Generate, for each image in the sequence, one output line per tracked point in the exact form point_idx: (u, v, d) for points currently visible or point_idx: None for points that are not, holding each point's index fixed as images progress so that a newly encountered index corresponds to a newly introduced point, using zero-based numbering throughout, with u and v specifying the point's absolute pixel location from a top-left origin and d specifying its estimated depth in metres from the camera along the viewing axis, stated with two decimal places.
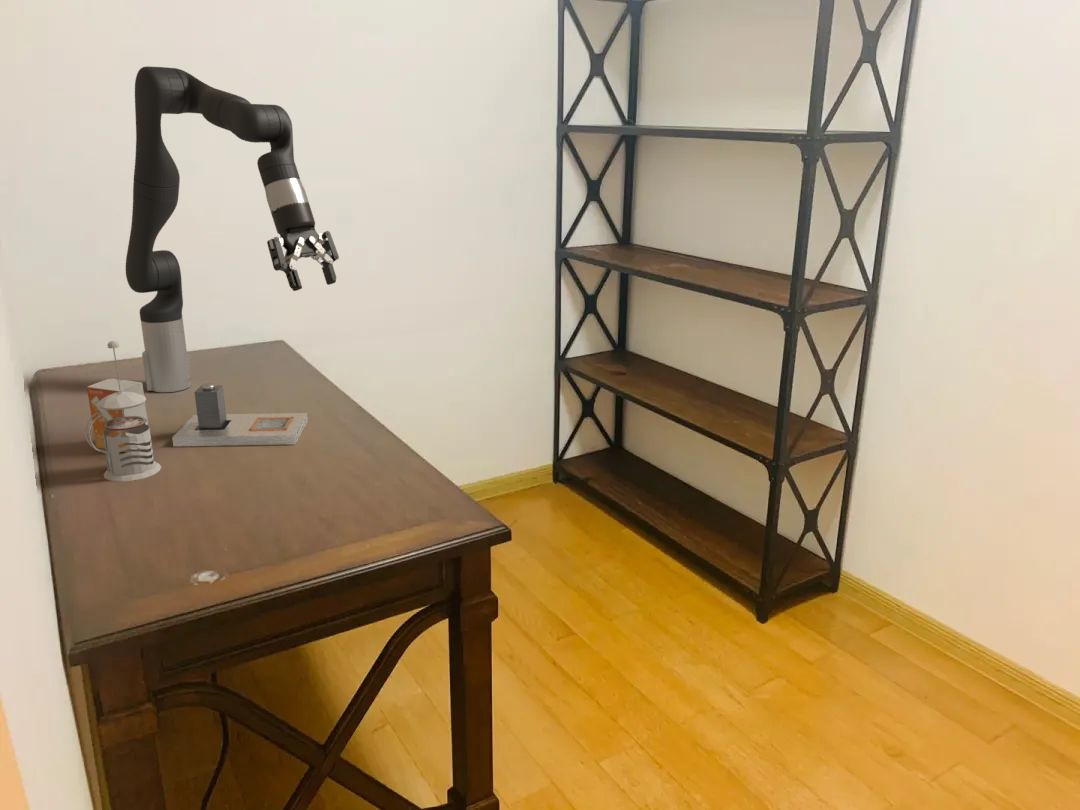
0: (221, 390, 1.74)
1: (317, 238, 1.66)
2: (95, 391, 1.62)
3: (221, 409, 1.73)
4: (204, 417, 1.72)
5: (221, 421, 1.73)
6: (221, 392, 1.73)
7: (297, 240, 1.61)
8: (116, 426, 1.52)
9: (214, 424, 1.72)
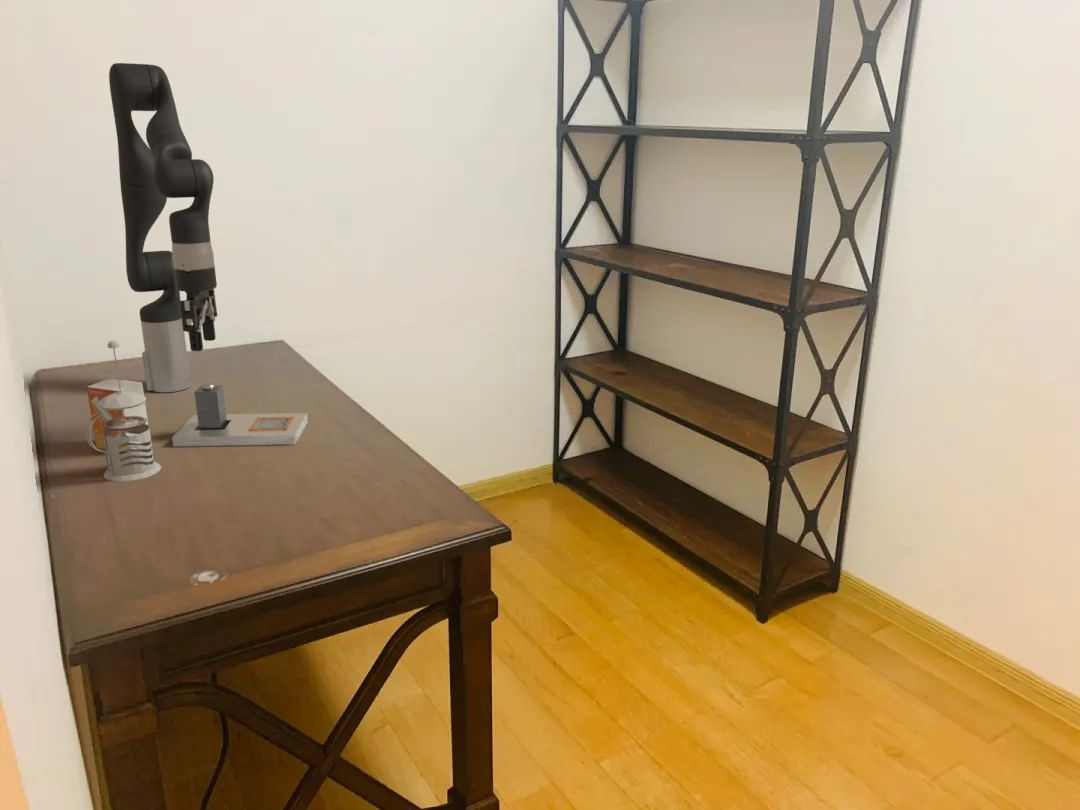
0: (221, 390, 1.74)
1: None
2: (95, 391, 1.62)
3: (221, 409, 1.73)
4: (204, 417, 1.72)
5: (221, 421, 1.73)
6: (221, 392, 1.73)
7: (204, 303, 1.65)
8: (116, 426, 1.52)
9: (214, 424, 1.72)
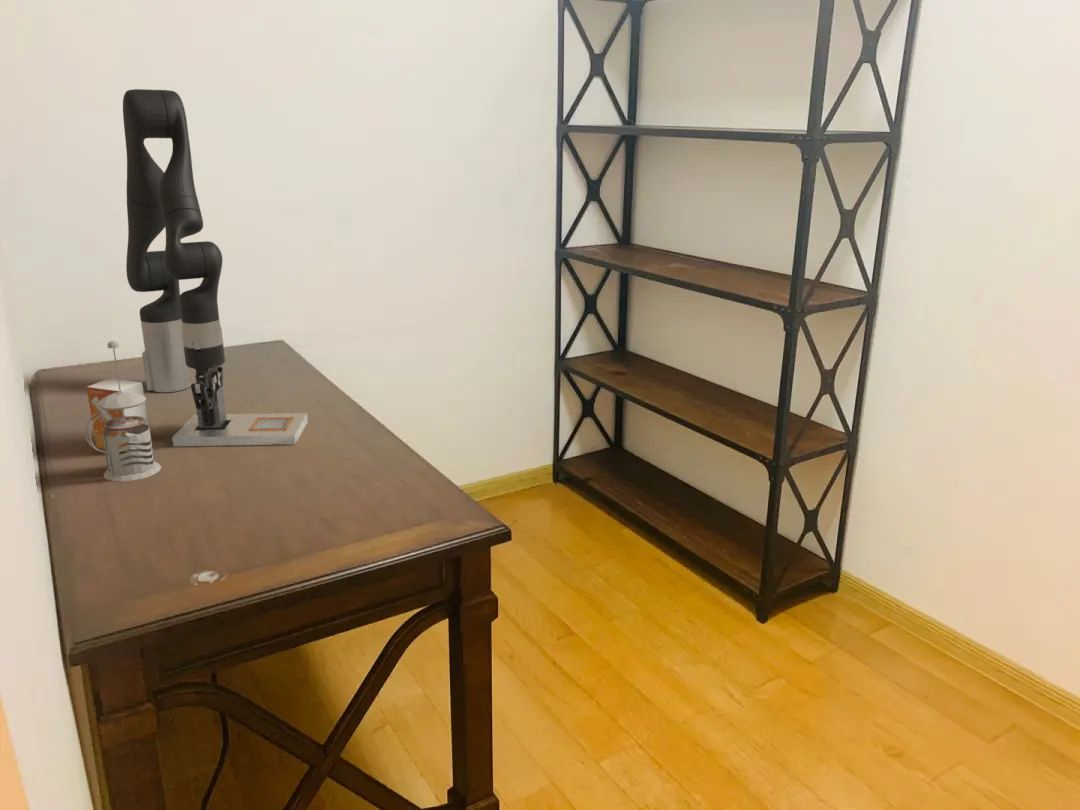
0: (221, 390, 1.74)
1: (217, 371, 1.74)
2: (95, 391, 1.62)
3: (221, 408, 1.73)
4: None
5: (220, 421, 1.73)
6: (221, 392, 1.73)
7: (213, 379, 1.69)
8: (116, 426, 1.52)
9: None
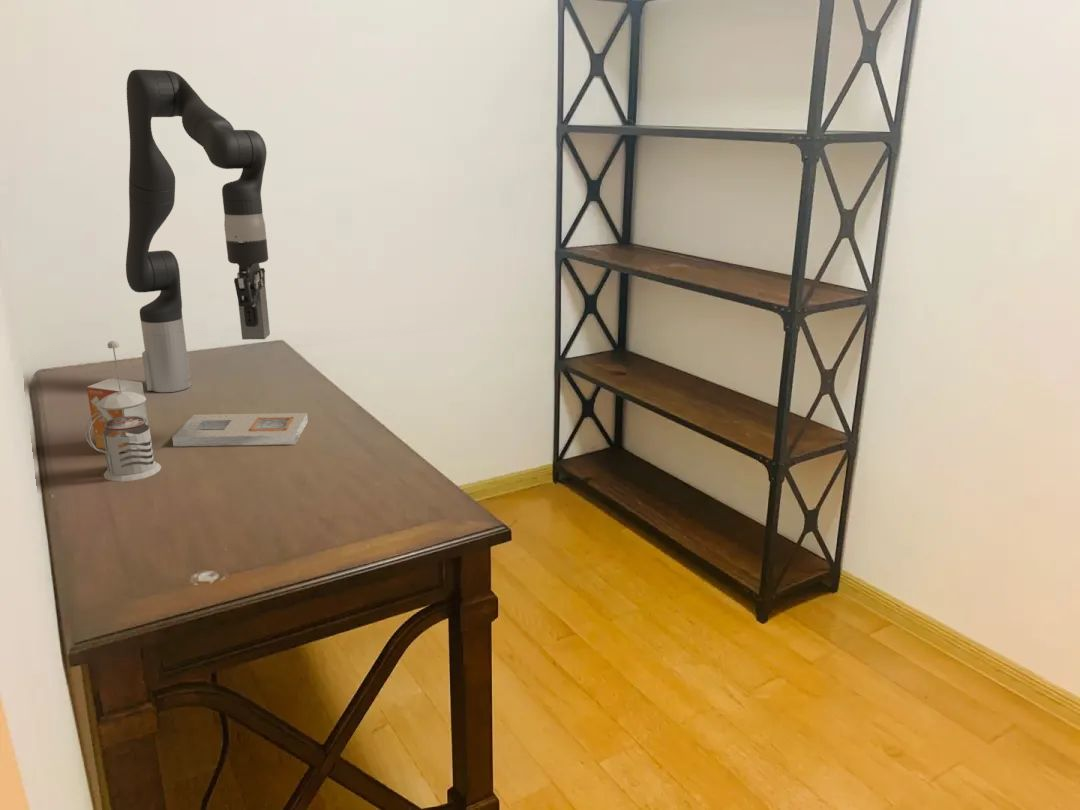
0: (264, 290, 1.67)
1: None
2: (95, 391, 1.62)
3: (264, 309, 1.67)
4: None
5: (263, 321, 1.67)
6: (264, 292, 1.67)
7: (256, 276, 1.63)
8: (116, 426, 1.52)
9: None
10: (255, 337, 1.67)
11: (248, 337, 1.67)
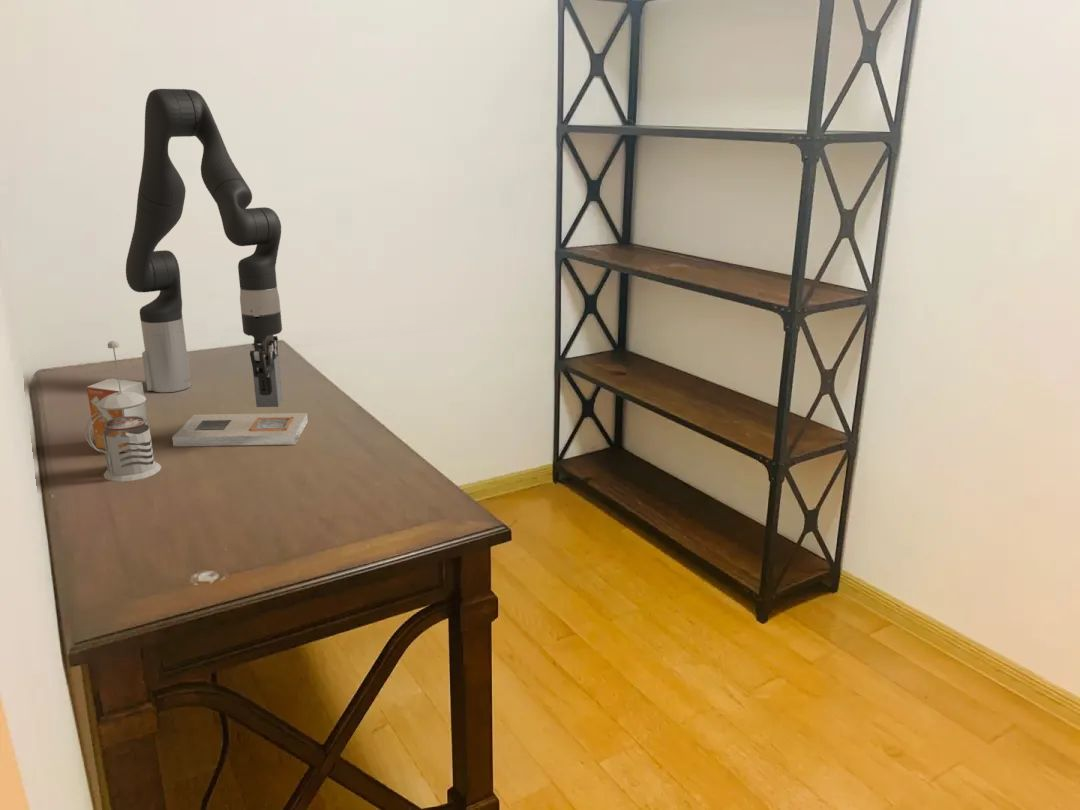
0: (278, 359, 1.72)
1: None
2: (95, 391, 1.62)
3: (278, 377, 1.72)
4: None
5: (277, 390, 1.72)
6: (277, 361, 1.72)
7: (270, 347, 1.68)
8: (116, 426, 1.52)
9: None
10: (269, 405, 1.72)
11: (262, 405, 1.72)
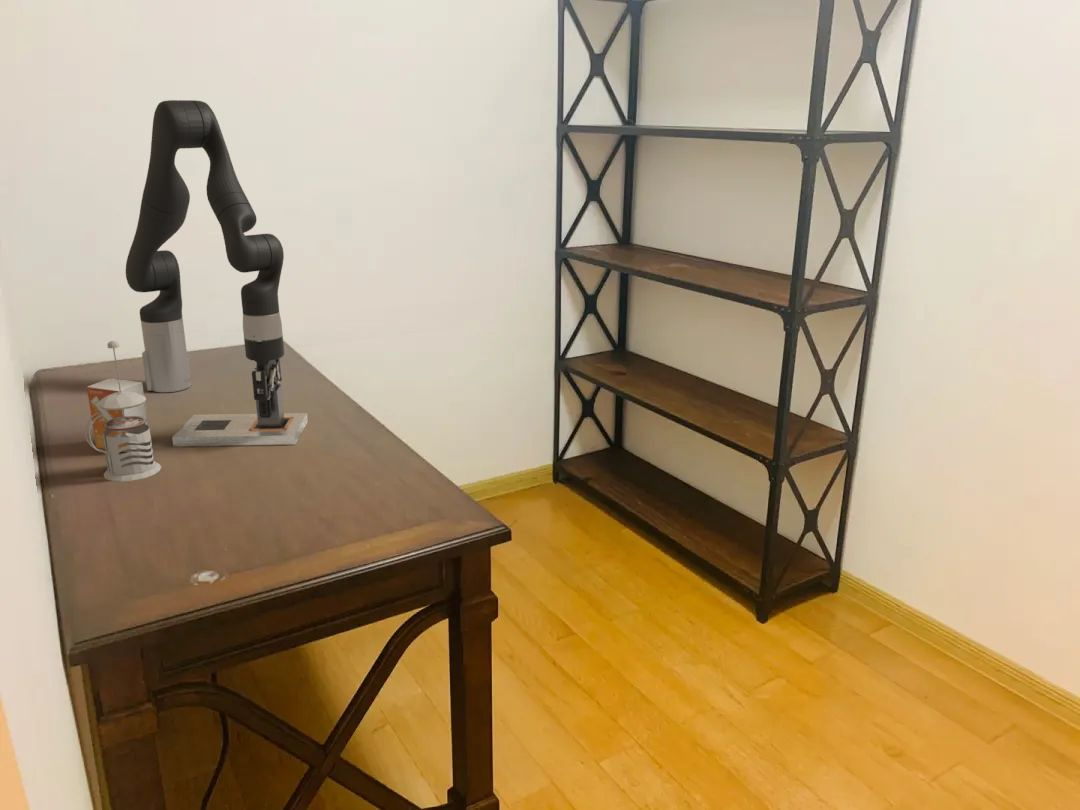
0: (280, 389, 1.75)
1: (275, 363, 1.75)
2: (95, 391, 1.62)
3: (280, 408, 1.74)
4: None
5: (280, 420, 1.74)
6: (280, 391, 1.74)
7: (272, 371, 1.70)
8: (116, 426, 1.52)
9: (273, 423, 1.73)
10: None
11: None
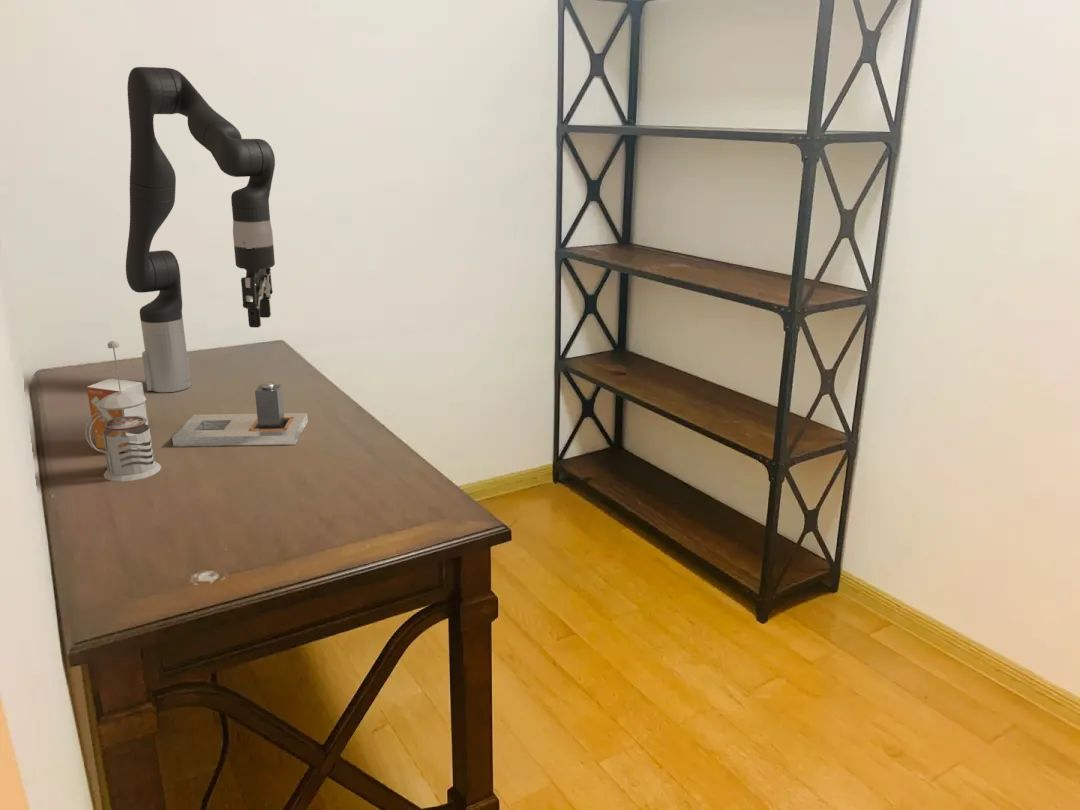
0: (280, 389, 1.75)
1: (265, 275, 1.73)
2: (95, 391, 1.62)
3: (280, 408, 1.74)
4: (264, 416, 1.73)
5: (280, 420, 1.74)
6: (280, 391, 1.74)
7: (262, 280, 1.68)
8: (116, 426, 1.52)
9: (273, 423, 1.73)
10: None
11: None
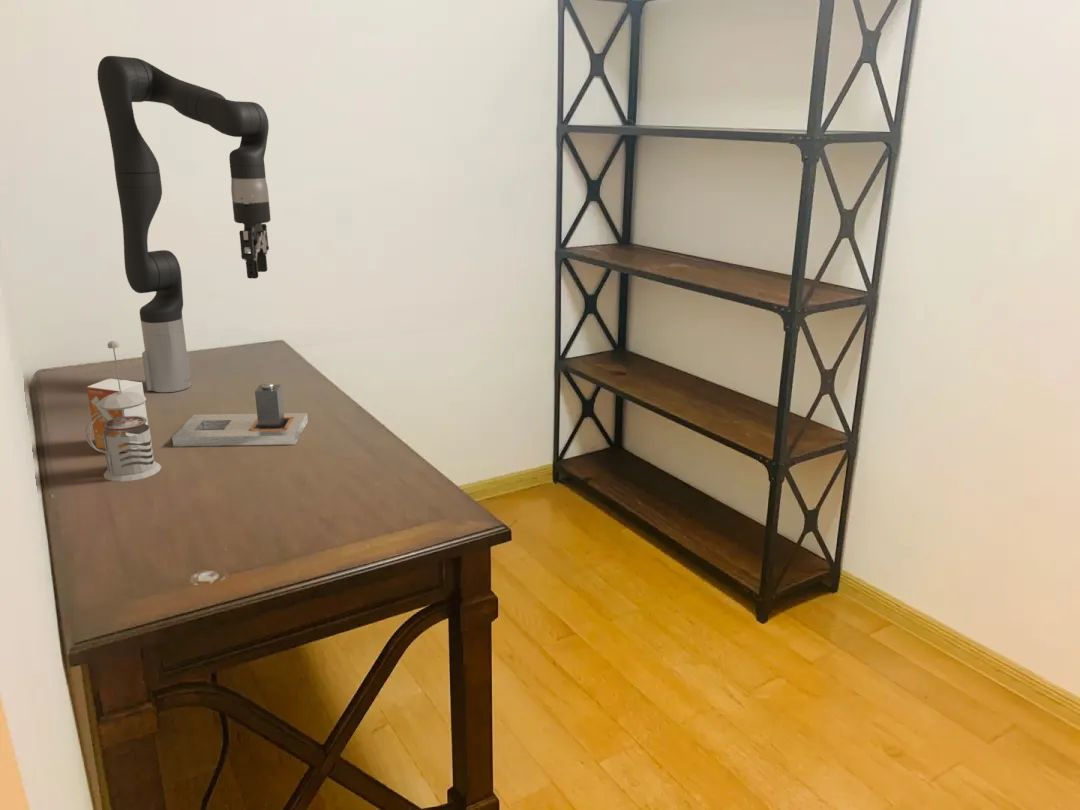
0: (280, 389, 1.75)
1: None
2: (95, 391, 1.62)
3: (280, 408, 1.74)
4: (264, 416, 1.73)
5: (280, 420, 1.74)
6: (280, 391, 1.74)
7: (259, 234, 1.81)
8: (116, 426, 1.52)
9: (273, 423, 1.73)
10: None
11: None
